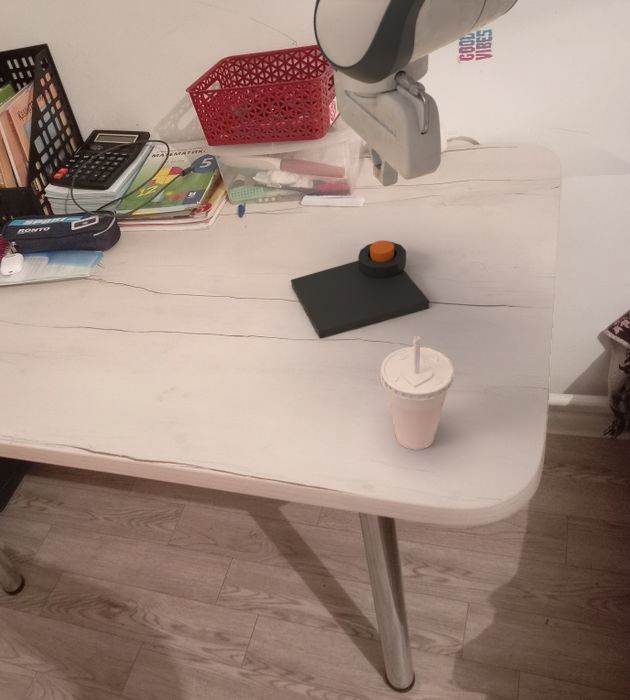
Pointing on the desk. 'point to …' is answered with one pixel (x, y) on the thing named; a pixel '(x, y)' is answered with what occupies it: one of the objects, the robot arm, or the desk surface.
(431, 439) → the smoothie
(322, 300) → the scale
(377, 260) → the button
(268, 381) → the desk surface
